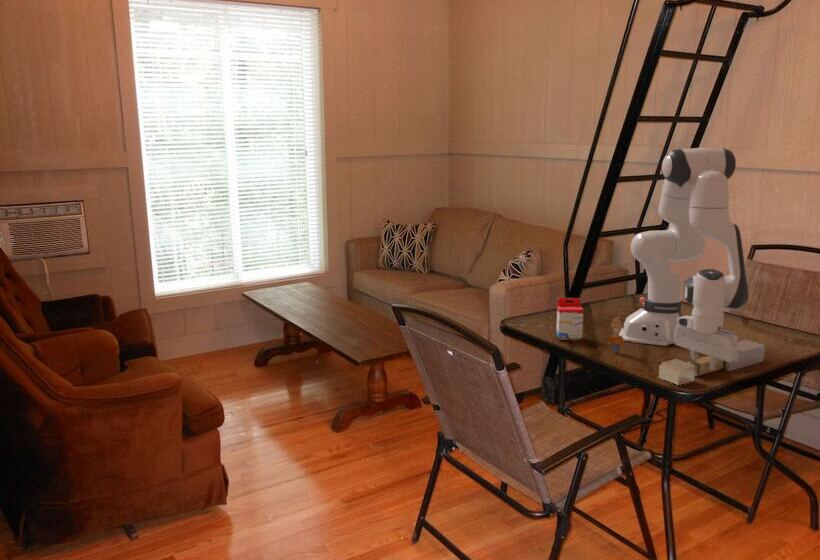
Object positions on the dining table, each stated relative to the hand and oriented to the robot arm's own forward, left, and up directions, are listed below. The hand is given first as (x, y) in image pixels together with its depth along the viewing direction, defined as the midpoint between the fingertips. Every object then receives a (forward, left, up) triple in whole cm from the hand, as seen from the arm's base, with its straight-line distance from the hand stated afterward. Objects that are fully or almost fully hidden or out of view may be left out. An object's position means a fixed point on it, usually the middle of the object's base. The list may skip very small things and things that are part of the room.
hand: (703, 366), depth 206 cm
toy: (-25, +14, -2) cm, 29 cm away
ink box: (-41, +26, -2) cm, 49 cm away
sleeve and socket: (+3, +3, -2) cm, 5 cm away
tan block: (+4, +4, -1) cm, 6 cm away
